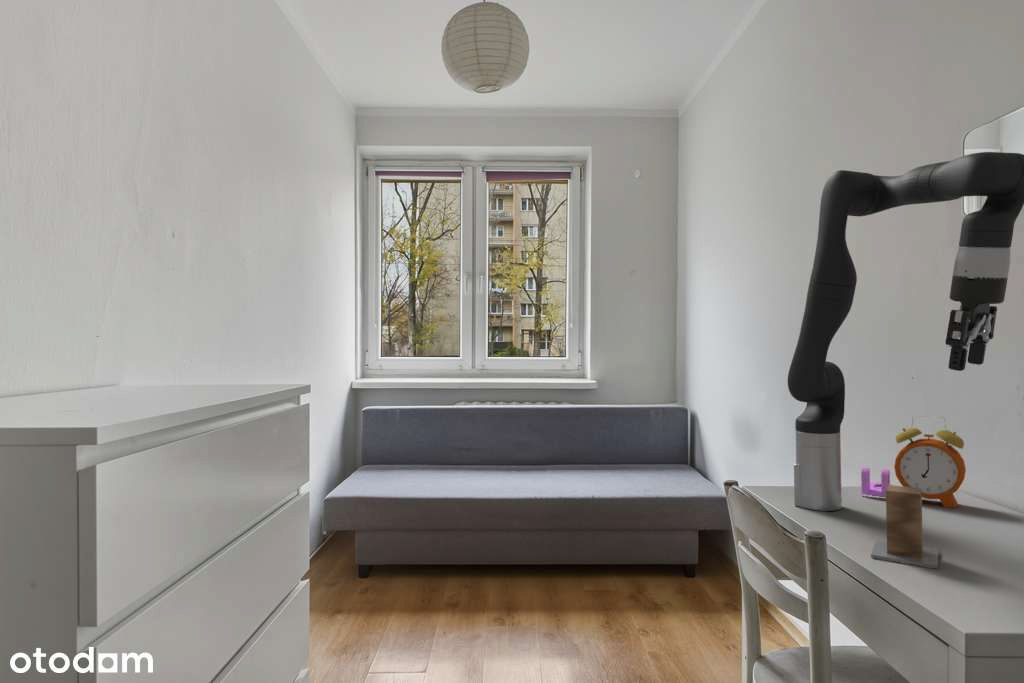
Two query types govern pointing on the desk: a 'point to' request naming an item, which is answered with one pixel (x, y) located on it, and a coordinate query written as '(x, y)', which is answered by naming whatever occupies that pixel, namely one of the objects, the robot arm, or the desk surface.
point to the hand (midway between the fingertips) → (965, 366)
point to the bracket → (874, 483)
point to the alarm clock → (931, 464)
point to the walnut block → (904, 521)
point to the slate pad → (927, 556)
